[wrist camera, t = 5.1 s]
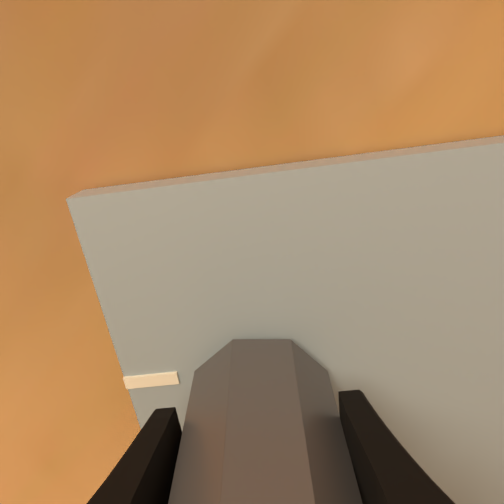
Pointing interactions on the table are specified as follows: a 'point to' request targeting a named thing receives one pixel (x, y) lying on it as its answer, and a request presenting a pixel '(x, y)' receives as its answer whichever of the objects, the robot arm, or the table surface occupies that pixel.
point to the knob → (263, 431)
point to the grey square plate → (324, 288)
